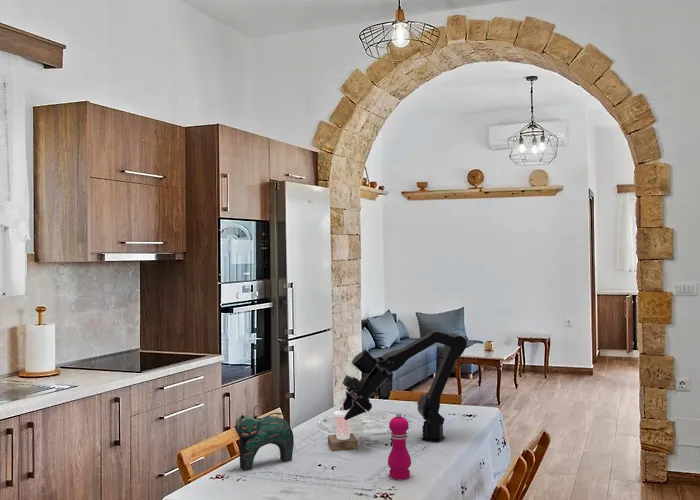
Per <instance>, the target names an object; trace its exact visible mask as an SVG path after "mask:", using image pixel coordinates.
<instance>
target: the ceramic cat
mask: <svg viewBox="0 0 700 500" xmlns="http://www.w3.org/2000/svg"><path fill="white" fill-rule="evenodd" d="M258 407H261V408H263V409H265V406H264V405H261V404H258V405H256V406H254V408H253V414H252V415H253V416H250V415H243V414H241V416H239V417H238V418H237V420H236V421H235V426H234V428H235V431H236V432H235V433H237V434H238V436H240V439H239V450H238V451H239V468H240V469H241V470H242V471H244V472H246V471H245V470H247V471H250V470H251V471H252V470H253V465H254V460H255V458H256V455H257V453H258V451H259V450H260V448H262V447H264V446H266V445H270V444H271V445H275V446H277V448H278V449H279V450H278V451H279V459H280V461H282V462H284V463H286V462H290V461H293V454H294V453H293V451H294V444H295V443H294V442H295V440H294V438H295V437H294V433H293V430H292V428H291V426H290V424H289V423H290V422H289V419H288V417H287V416H286V415H285V414H284V413H282V412H272V413H270V414H268V415H266V416H263V417H260V418H259V417H258V415H255V410H256V409H257V408H258ZM275 415H277V416H275ZM278 415H282V416H283V417H285V418H286V420H285V419H284V418H282V417H279V416H278Z"/></svg>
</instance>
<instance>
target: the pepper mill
mask: <svg viewBox="0 0 700 500" xmlns="http://www.w3.org/2000/svg"><path fill="white" fill-rule="evenodd" d="M402 415H403V414H402V413H401V412H400V411H397V412H396V413H395V417H392V418H391V419H390V420H389V422H388V423H389V424H388V428H389V430H390V431H391V432H390V438H391V440H392V447H391V449H390V453H389V455H388V458H387V465H388V467H389V468H390V469H389V470H388V471H389V477H390V478H391V477H392V478H391V479H393V478H395V479H394V480H398V479H402V480H406V478H407V479H408V478H410V476H411V474H410V473H411V470H410V469H409V468H410V467H411V465H412V458H411V456H410V454H409V451H408V449H407V442H406V441H407V440H406V439H408V432H407V431H408V430H409V428H410V427H409V425H410V424H409V421H408V419H407V418H405V417H403V416H402Z"/></svg>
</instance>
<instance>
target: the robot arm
mask: <svg viewBox="0 0 700 500" xmlns="http://www.w3.org/2000/svg"><path fill="white" fill-rule="evenodd" d="M435 344H440V345H444V346H443V347H444V348H443V357H442V359H441V361H440V364H439V366H438V369H437V370H436V373H435V376H434V378H433V381H432V383H431V386H430V388H429V391H428V392H426V394H425V395H424V394H423V393H422V394H421V395H420V397H419V400H418V402H417V403H416V404H417V412H418V413H419V415H420V416H421V417H422V419H423V420H424V421H423V425H422V437H421V440H422V441H429V442H434V443H439V442H440V441H442V440H444V439H445V438H446V436H445V435H444V423H445V420H446V419H445V418H444V416H442V415H441V414H440V413H439V411H440V408H441V396H442V394H443V392H444V390H445V387H446V384H447V382H448V380H449V377H450V375H451V374H452V373H451V372H452V371H453V368H454V366H455V363H456V362H457V360H458V359H459V358H460V357H461V356H462V355H463V353H464V352H465V349H466V348H467V346H468V342H467V340H466V338H465V337H464V336H462V335H460V334H457V333H451V334H448V333H444V332H440V331H437V330H435V329H433V330H430V331H429V332H428V333H426V334H424V335H422V336H420V337H419V338H418V339H415V340H413V341H412V342H410V343H408V344H407V345H405V346H403V347H401V348H398V349H393V350H391V351H388V352H385V353H384V354H383V355H381V356H377V357H373V356H372V355H371V354H370V353H369V352H368V350H367V349H363V350H362V351H361V352H359V353H358V354H356V355H355V356H354V357H353V359H352V361H351V364H352V365H353V366H354V367H355V368H356V369H357V370H358V371H359V372H361V374H363V375H365V374H367V376H366V377H364V378H361V379H360V380H359V379H358V378H357V377H354V376H351V375H347V374H346V375H345V376H344V379H343V381H342V384H343V386H345V387H346V388H345V399H344V400H343V410H347V411H348V412H347V414H346V415H345V417H344V419H345V420H348V419H350V420H351V419H352V418H354V417H357V416H360V415H362V414H364V413H367V412H368V413H369V412H370V411H371V409H372V408H373V404H372V403H371V402H370V401H371V400H370V398H371V397H372V396H373V394H377V393H378V389H379V388H380V387H381V386H382V384H383V383H384V382H386V380H388V381H389V382H391V383H392V382H393V372H396V371H398V370H399V369H400V368H402V367H403V366H404V365H405V364H406V362H407V361H408V360H409V359H411V358H412V357H414V356H415V355H417V354H419V353H421V352H423V351H425V350H427V349H428V348H429V347H431V346H433V345H435ZM377 365H378V366H377ZM379 367H380V368H379ZM386 370H387V371H389V372H387V371H386ZM391 372H392V373H391ZM340 410H342V406H341V407H340V409H339V411H340Z"/></svg>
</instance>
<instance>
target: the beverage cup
mask: <svg viewBox="0 0 700 500" xmlns="http://www.w3.org/2000/svg"><path fill="white" fill-rule="evenodd" d="M343 403H344V397H342V398H341V407H342V410H340V409H339V410H335V411H334V412H333V415H334V422H335V423H334V424H335V435H336V437H337V439H340V440H346V439H349V438H350V433H351V418H350V419H348V420H345V419H344V417H345V415H346V414H347V412H348V411H349V410H343Z"/></svg>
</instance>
